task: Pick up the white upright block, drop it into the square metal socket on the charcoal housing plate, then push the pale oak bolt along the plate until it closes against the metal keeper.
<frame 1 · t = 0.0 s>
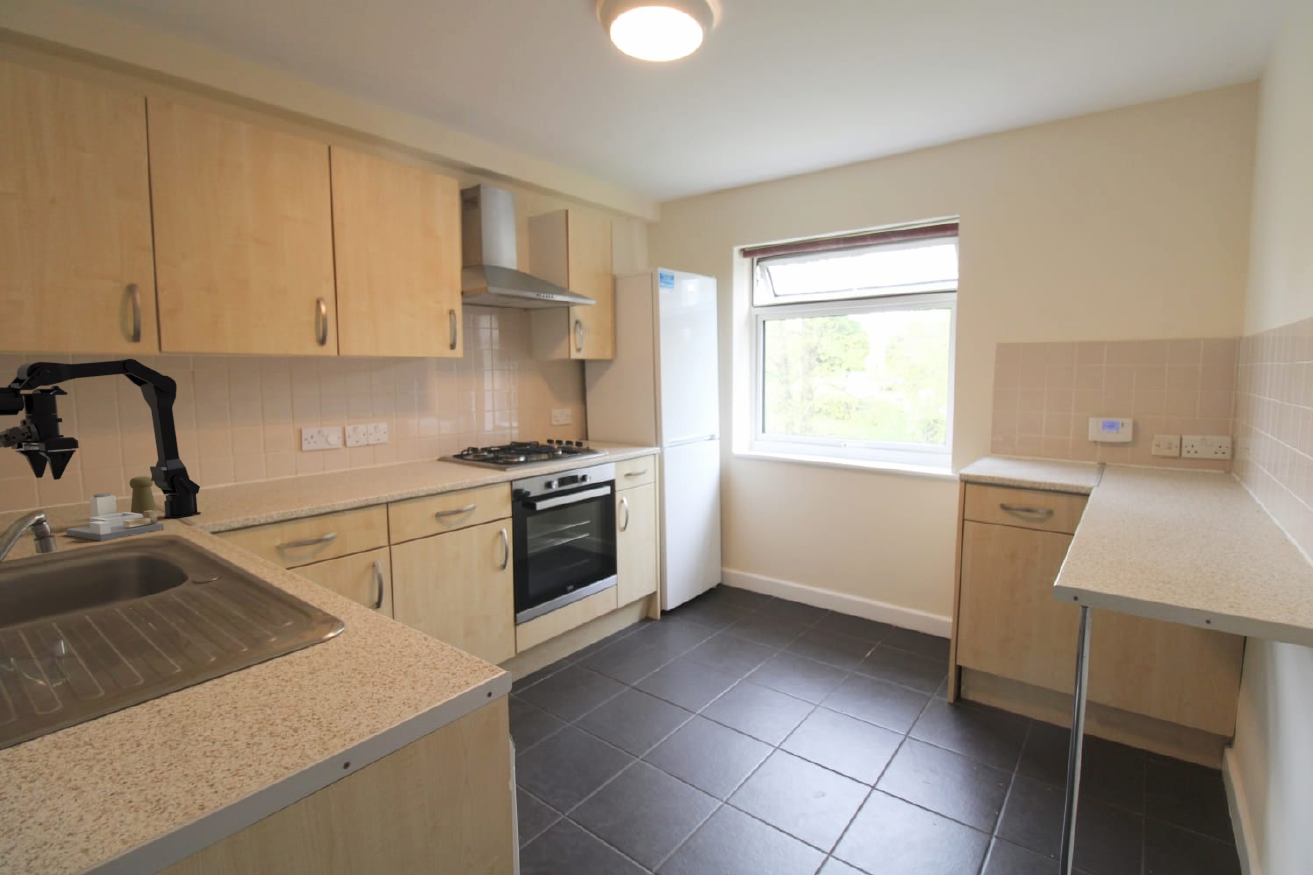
hand: (48, 478, 153), 15 cm above the counter, tool pointing down, fingers open, 9 cm apart
latch bolt: (140, 518, 159), point 3 cm above the counter, slide at 4.0 cm
white upright block: (105, 526, 167), on the counter
olive pepper mill: (144, 514, 183), on the counter
housing plate: (115, 532, 159), on the counter
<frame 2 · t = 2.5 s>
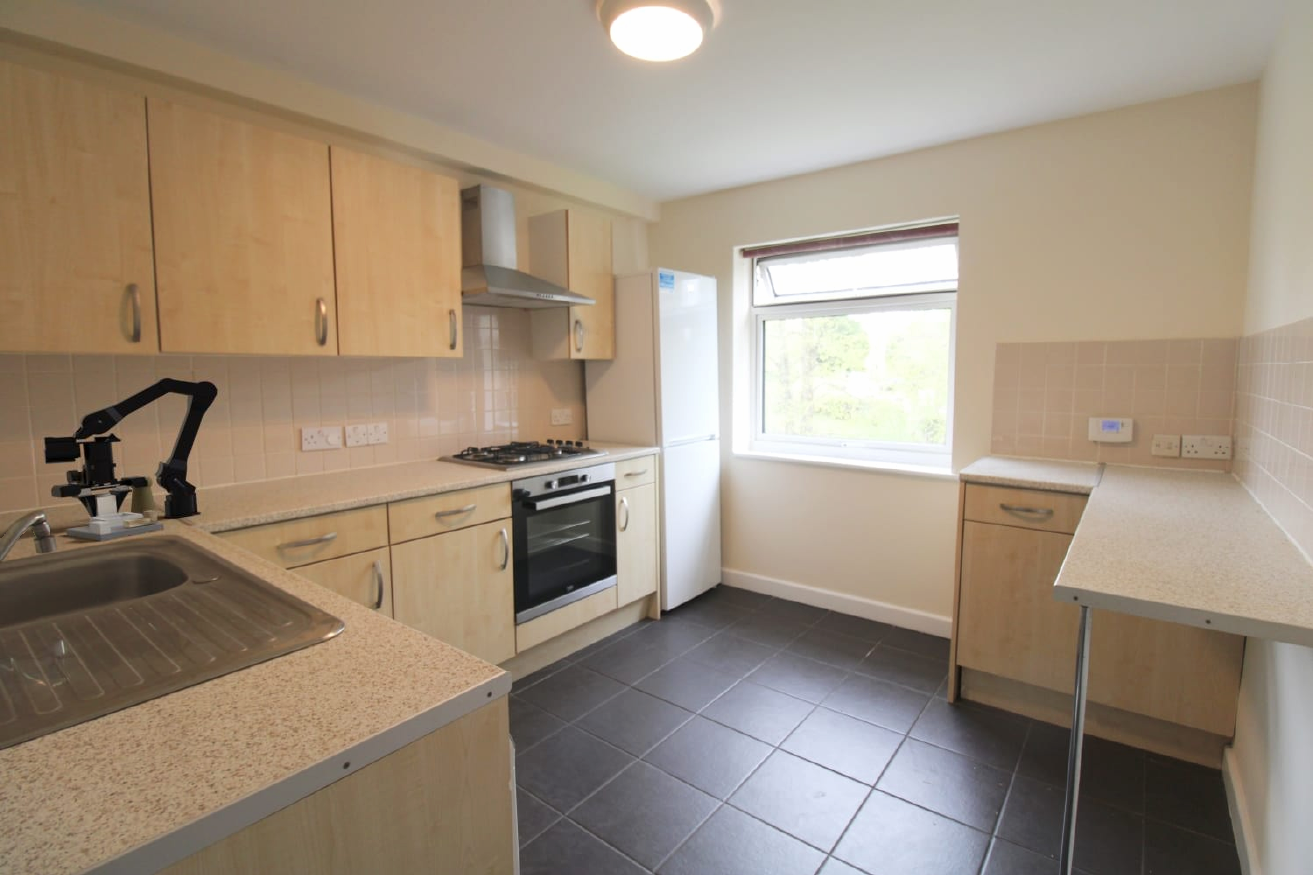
hand: (104, 518, 167), 2 cm above the counter, tool pointing down, fingers closed on white upright block, 4 cm apart
white upright block: (105, 525, 167), on the counter, touching gripper
everything else where it was.
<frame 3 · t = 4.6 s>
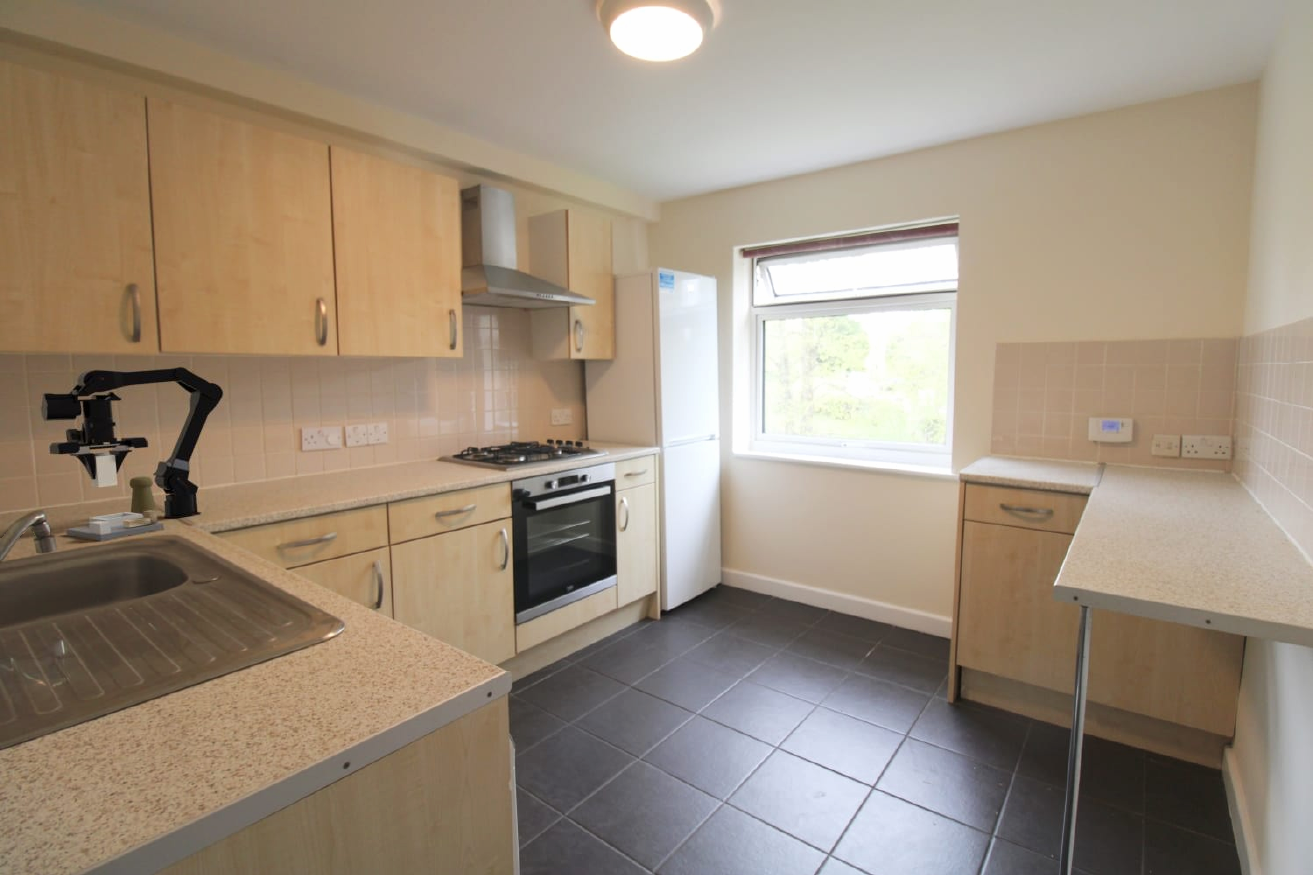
hand: (103, 478, 165), 13 cm above the counter, tool pointing down, fingers closed on white upright block, 4 cm apart
white upright block: (104, 485, 165), point 11 cm above the counter, touching gripper
everything else where it was.
when the fingers open (5 cm above the counter, at t = 6.8 s): white upright block drops 1 cm, resting on housing plate.
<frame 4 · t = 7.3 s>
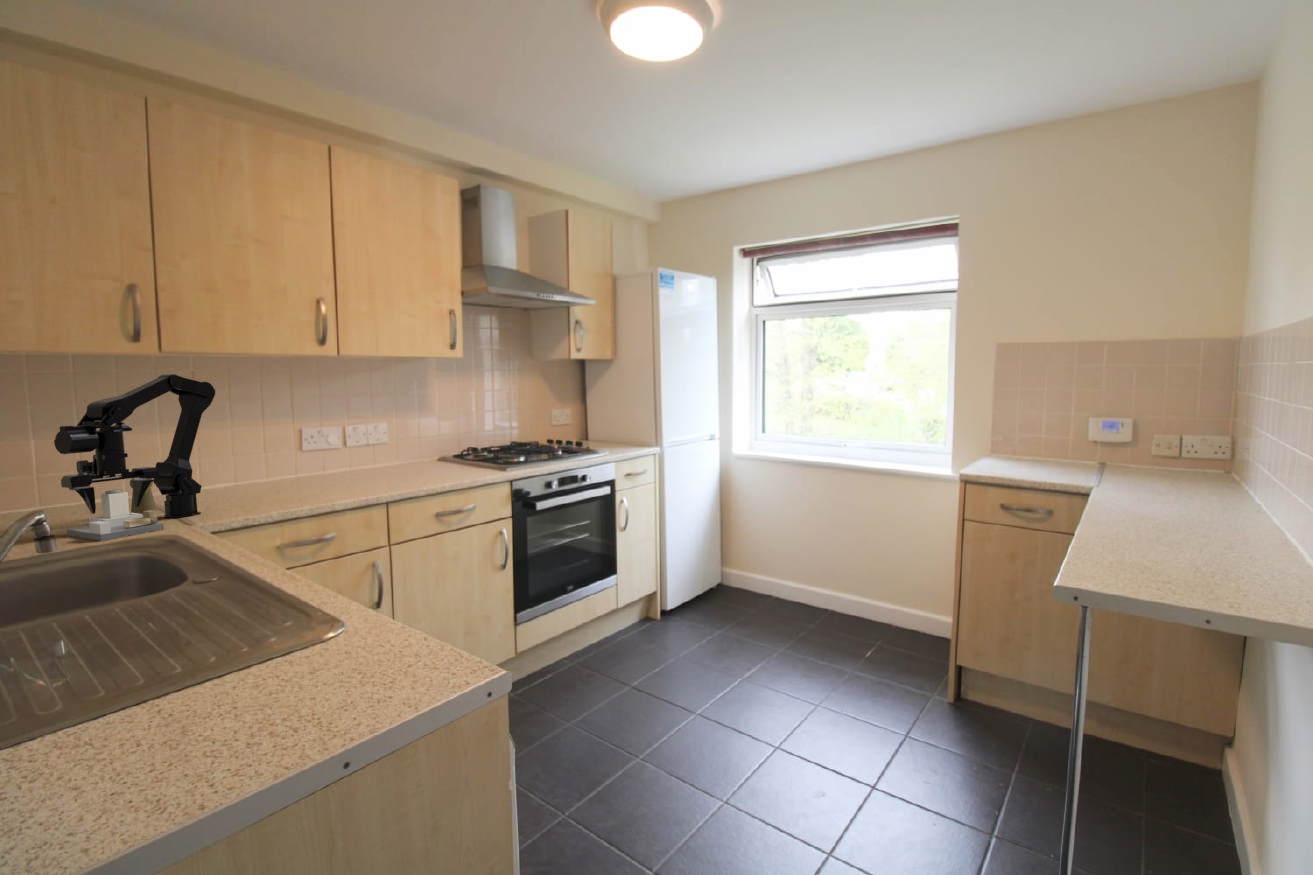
hand: (115, 510, 162), 5 cm above the counter, tool pointing down, fingers open, 9 cm apart
white upright block: (116, 523, 162), point 1 cm above the counter, touching housing plate
everything else where it was.
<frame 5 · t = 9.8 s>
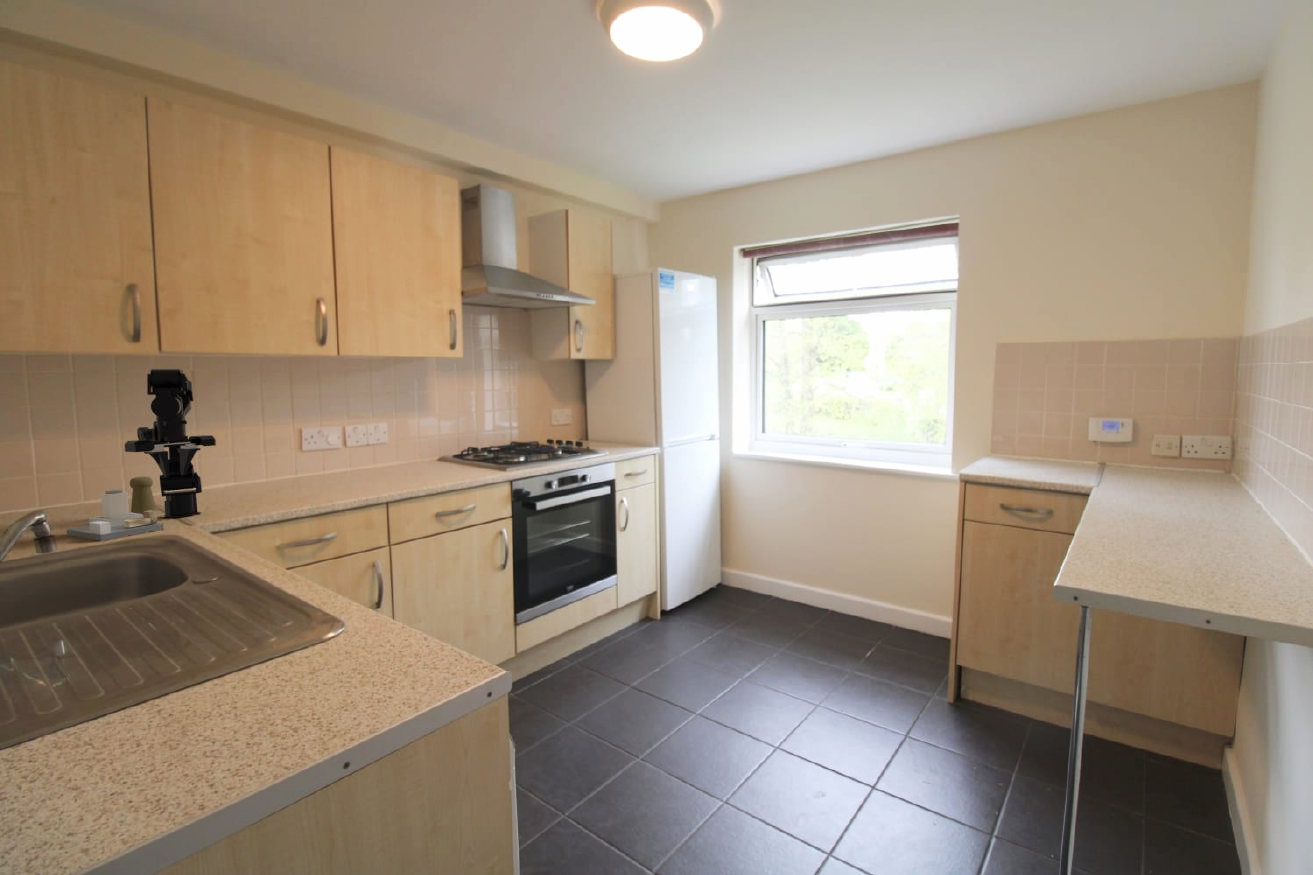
hand: (174, 476, 166), 13 cm above the counter, tool pointing down, fingers open, 4 cm apart
nothing on the counter moved.
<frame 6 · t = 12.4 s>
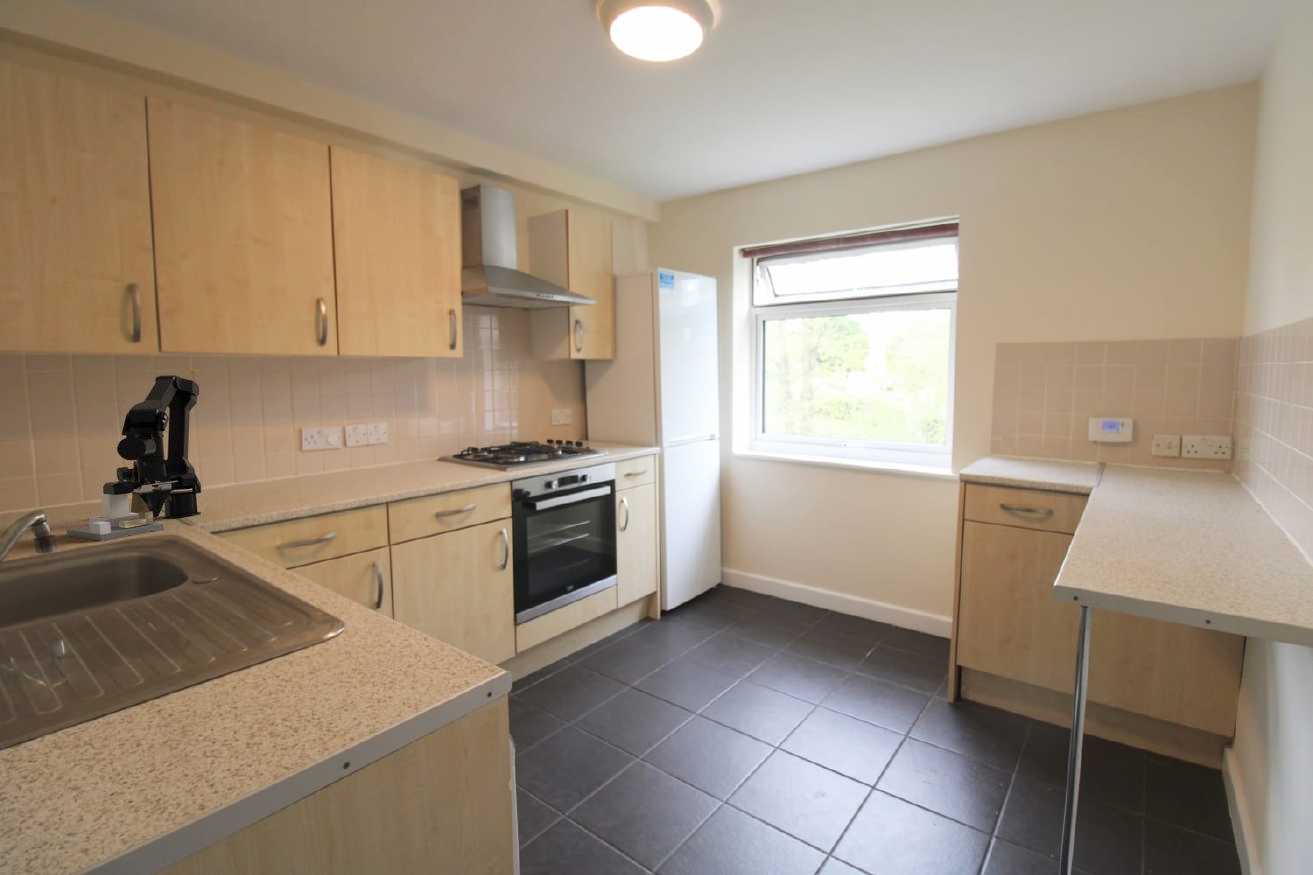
hand: (155, 516, 162), 3 cm above the counter, tool pointing down, fingers closed
latch bolt: (136, 519, 158), point 3 cm above the counter, slide at 3.1 cm, touching gripper
everything else where it was.
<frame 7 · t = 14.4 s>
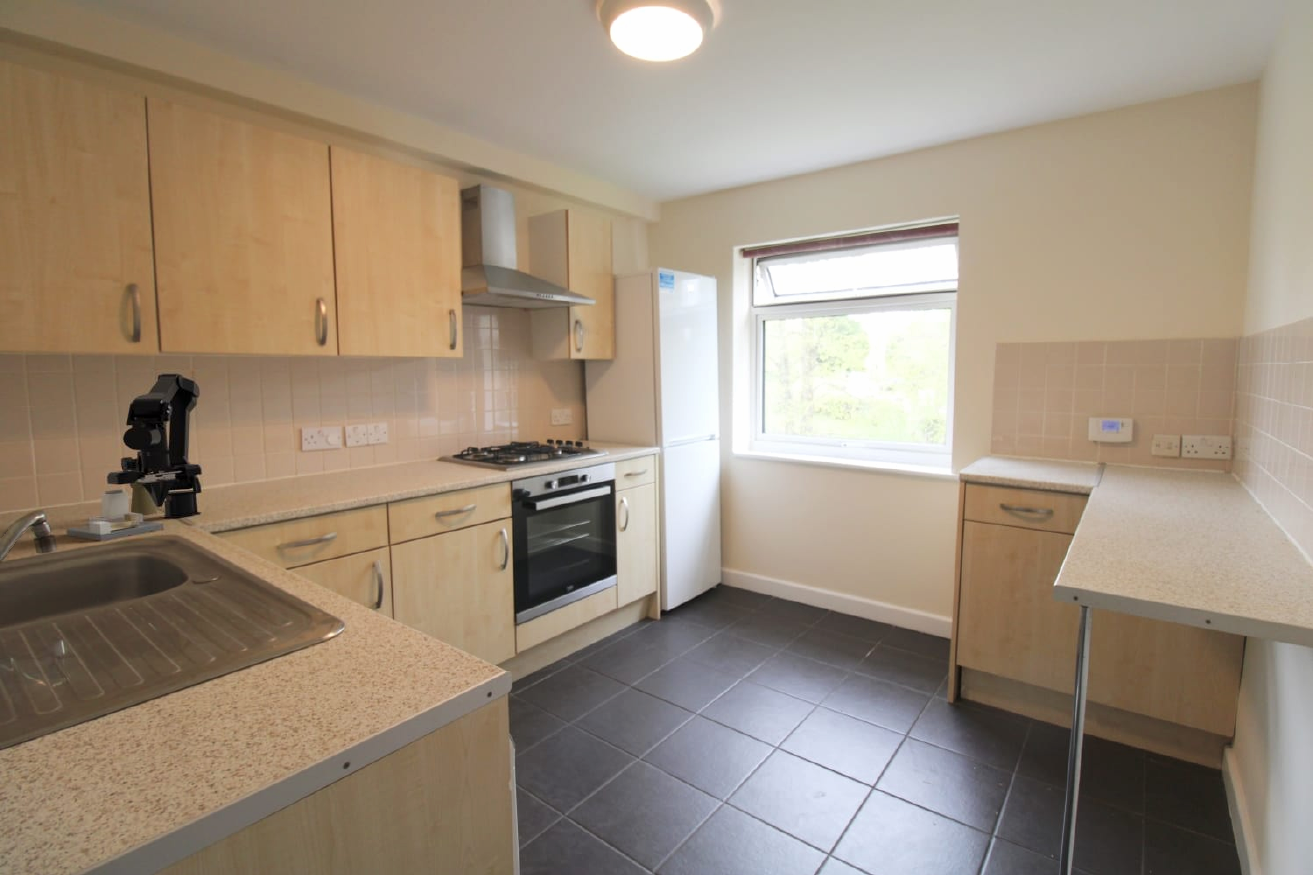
hand: (159, 506, 163), 6 cm above the counter, tool pointing down, fingers closed
latch bolt: (121, 521, 155), point 3 cm above the counter, slide at 0.0 cm
everything else where it was.
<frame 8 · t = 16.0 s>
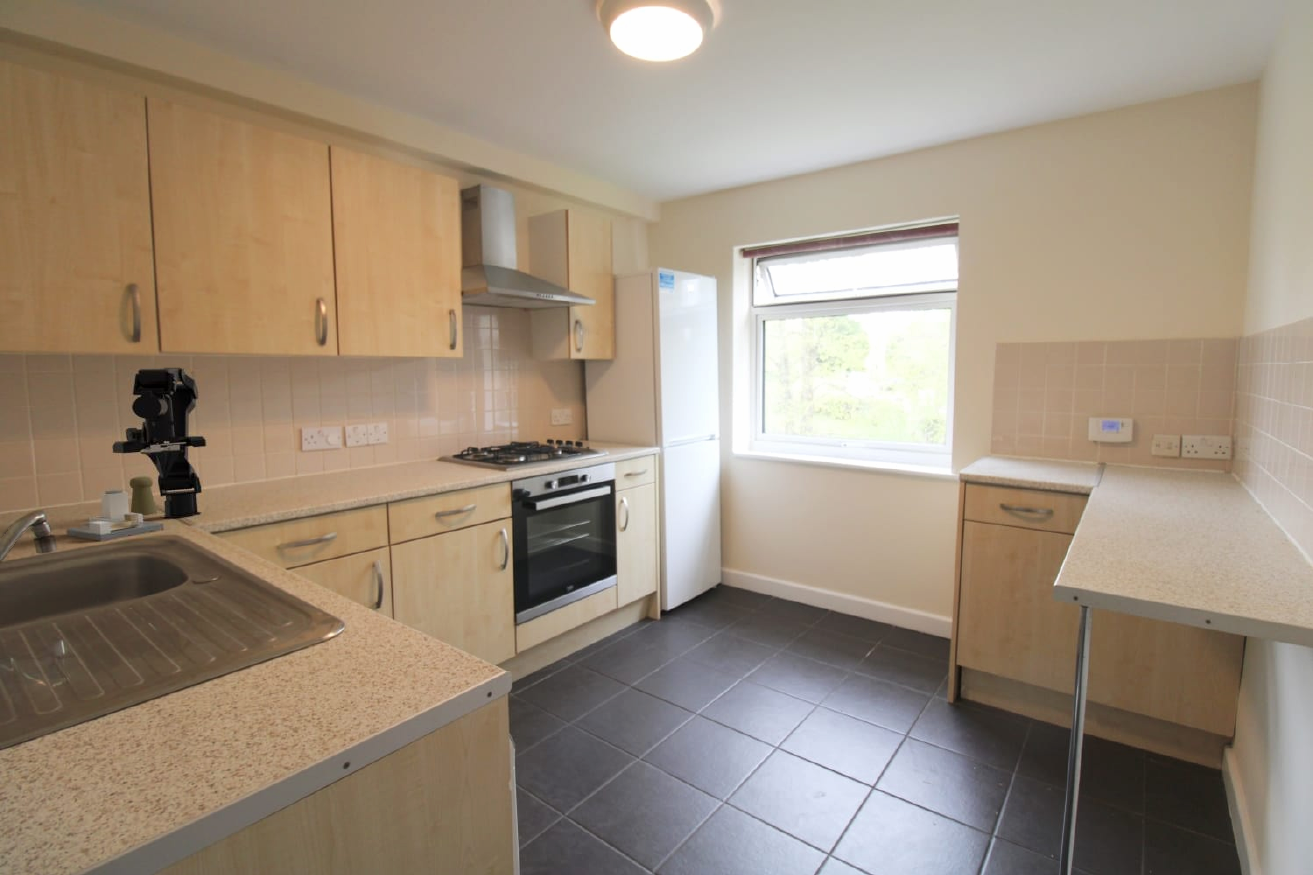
hand: (164, 477, 164), 13 cm above the counter, tool pointing down, fingers closed
nothing on the counter moved.
at the end: white upright block 0.1 cm from the target spot, point 1.5 cm above the counter; white upright block tilted 0°; latch bolt slide at 0.0 cm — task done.
